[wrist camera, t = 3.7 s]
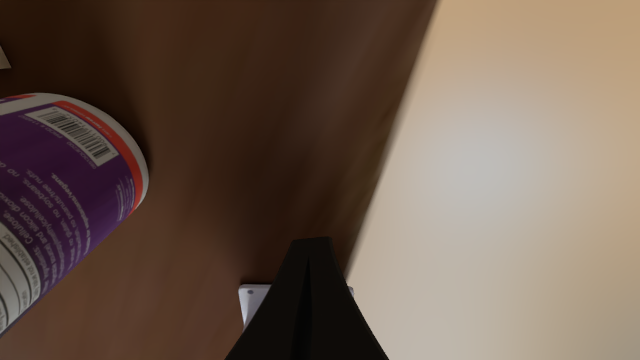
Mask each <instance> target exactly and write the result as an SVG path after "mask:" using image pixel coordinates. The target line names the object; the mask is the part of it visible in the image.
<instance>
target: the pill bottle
mask: <svg viewBox="0 0 640 360" xmlns="http://www.w3.org/2000/svg"><path fill="white" fill-rule="evenodd" d="M148 183H149V175H148V169H147V165H146V161H145V159H144V156H143V154H142V152H141V150H140V148H139V146H138V145H137V143H136V142H135V140H134V139H133V138H132V137H131V135H130V134H129V133H128V132H127V131H126V130H125V129H124V128H123V127H122V126H121V125H120V124H119V123H118V122H117V121H115V120H114V119H113V118H112V117H110V116H109V115H108V114H106V113H104V112H103V111H101V110H99V109H97V108H96V107H94V106H92V105H89V104H87V103H85V102H83V101H80V100H77V99H74V98H71V97H67V96H63V95H58V94H50V93H30V94H23V95H17V96H10V97H5V98H1V99H0V338H1V337H2V336H3V335H4V334H5V333H6V332H7V331H8V330H9V329H10V328H12V327H13V326H14V325H15V324H16V323H17V322H18V321H19V320H20V319H21V318H22V317H23V316H24V315H25V314H26V313H27V312H28V311H29V310H30V309H31V308H32V307H33V306H34V305H35V304H37V303H38V302H39V301H40V300H41V299H42V298H43V297H44V296H45V295H46V294H47V293H48V292H49V291H50V290H51V289H52V288H53V287H54V286H55V285H57V284H58V283H59V282H60V281H61V280H62V279H63V278H64V277H65V276H66V275H67V274H68V273H69V272H70V271H71V270H72V269H73V268H74V267H75V266H76V265H77V264H79V263H80V262H81V261H82V260H83V259H84V258H85V257H86V256H87V255H88V254H89V253H90V252H91V251H92V250H93V249H94V248H95V247H96V246H97V245H98V244H99V243H100V242H102V241H103V240H104V239H105V238H106V237H107V236H108V235H109V234H110V233H111V232H112V231H113V230H114V229H115V228H116V227H117V226H118V225H119V224H120V223H121V222H122V221H124V220H125V219H126V218H127V217H128V216H129V215H130V214H131V213H132V212H133V211H134V210H135V209H136V208H137V207H138V206H139V204H140V203H141V202H142V200H143V199H144V197H145V194H146V192H147V188H148Z"/></svg>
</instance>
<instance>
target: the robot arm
mask: <svg viewBox="0 0 640 360" xmlns="http://www.w3.org/2000/svg"><path fill="white" fill-rule="evenodd" d="M238 292H239V298H240V303H241V309H242V315H243V321H244V329H243V333H242V335H241V336H240V338H239V339H238V341H237V342H236V344H235V345H234V347H233V348H232V349H231V351H230V352H229V354H228V355H227V357H226V358H225V359H224V360H389V359H388V357H387V355H386V354H385V352H384V351H383V349H382V348H381V346H380V344H379V343H378V341H377V339H376V338H375V336H374V335H373V333H372V331H371V329H370V328H369V326H368V324H367V322H366V321H365V319H364V317H363V315H362V313H361V312H360V310H359V308H358V306H357V304H356V302H355V300H354V298H353V295H354V292H353V288H352V287H349V286H347V283H346V281H345V279H344V277H343V274H342V272H341V270H340V267H339V264H338V262H337V259H336V256H335V252H334V249H333V243H332V238H330V237H329V236H327V237H317V238H308V239H298V240H293V241H292V242H291V245H290V247H289V250H288V252H287V254H286V256H285V259H284V261H283V263H282V265H281V267H280V269H279V271H278V273H277V275H276V277H275V279H274V281H273V283H272V284H271V285H254V284H244V285H241V286H240V287H239V291H238Z"/></svg>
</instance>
